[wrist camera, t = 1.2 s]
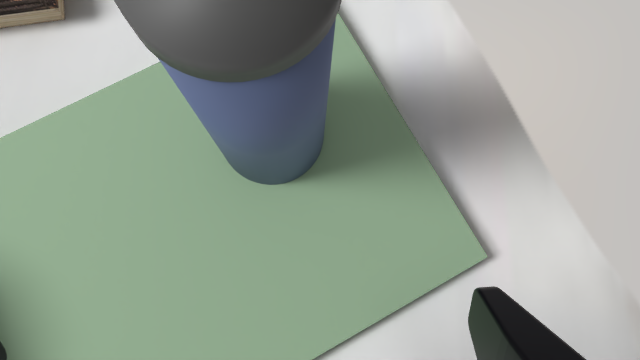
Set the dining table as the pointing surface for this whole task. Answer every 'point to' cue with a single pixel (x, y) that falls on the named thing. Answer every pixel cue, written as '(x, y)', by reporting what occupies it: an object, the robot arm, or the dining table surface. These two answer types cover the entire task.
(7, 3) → the hardcover book
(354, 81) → the putting mat
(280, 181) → the golf ball sleeve
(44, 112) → the dining table surface
